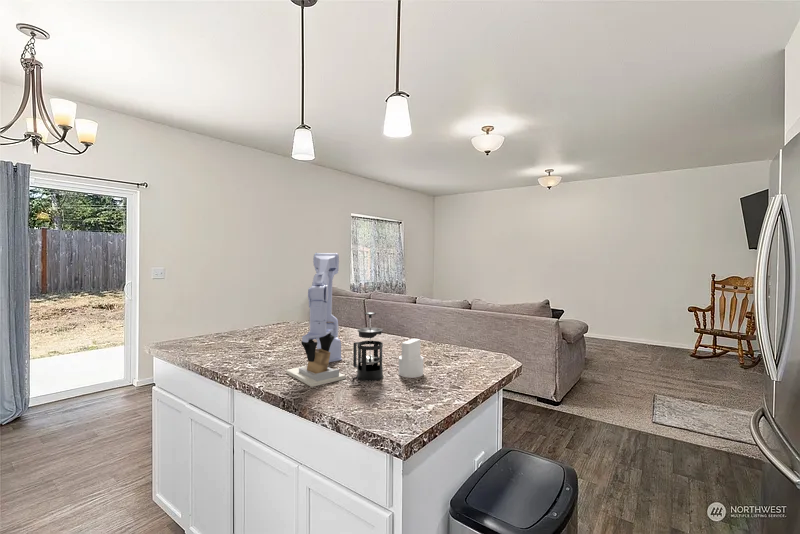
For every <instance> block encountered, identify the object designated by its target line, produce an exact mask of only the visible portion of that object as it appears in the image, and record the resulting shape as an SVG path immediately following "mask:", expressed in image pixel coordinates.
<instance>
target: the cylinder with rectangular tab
mask: <svg viewBox="0 0 800 534" xmlns="http://www.w3.org/2000/svg"><path fill="white" fill-rule="evenodd" d="M398 375H399V376H401V377H404V378H411V379H412V378H413V379H415V378H419V377H423V376H424V356H422V355H421V338H411V339H408V340H406V341H402V342H401V355H399V356H398Z"/></svg>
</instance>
